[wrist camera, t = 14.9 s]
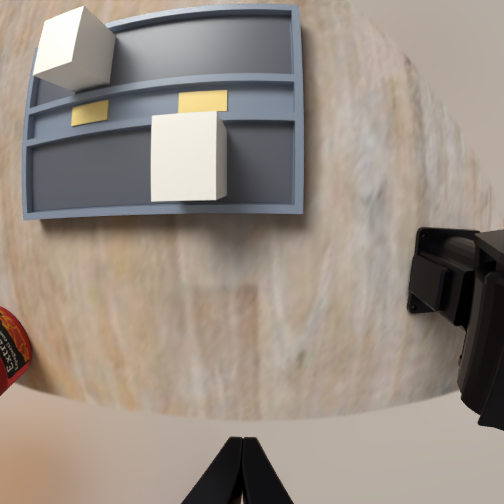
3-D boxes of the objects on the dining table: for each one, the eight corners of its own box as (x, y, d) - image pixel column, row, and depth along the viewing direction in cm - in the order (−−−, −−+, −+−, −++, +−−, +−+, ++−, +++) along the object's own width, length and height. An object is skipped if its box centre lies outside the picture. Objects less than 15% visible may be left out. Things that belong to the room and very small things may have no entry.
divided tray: (295, 18, 16) (299, 5, 14) (298, 210, 20) (302, 214, 18) (48, 54, 17) (35, 47, 15) (38, 216, 20) (23, 220, 18)
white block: (227, 130, 17) (216, 111, 12) (226, 195, 18) (215, 200, 13) (178, 132, 17) (151, 115, 12) (178, 196, 18) (151, 201, 13)
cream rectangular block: (116, 35, 16) (83, 5, 11) (109, 84, 16) (71, 61, 12) (81, 45, 16) (45, 21, 11) (74, 92, 16) (32, 75, 12)
